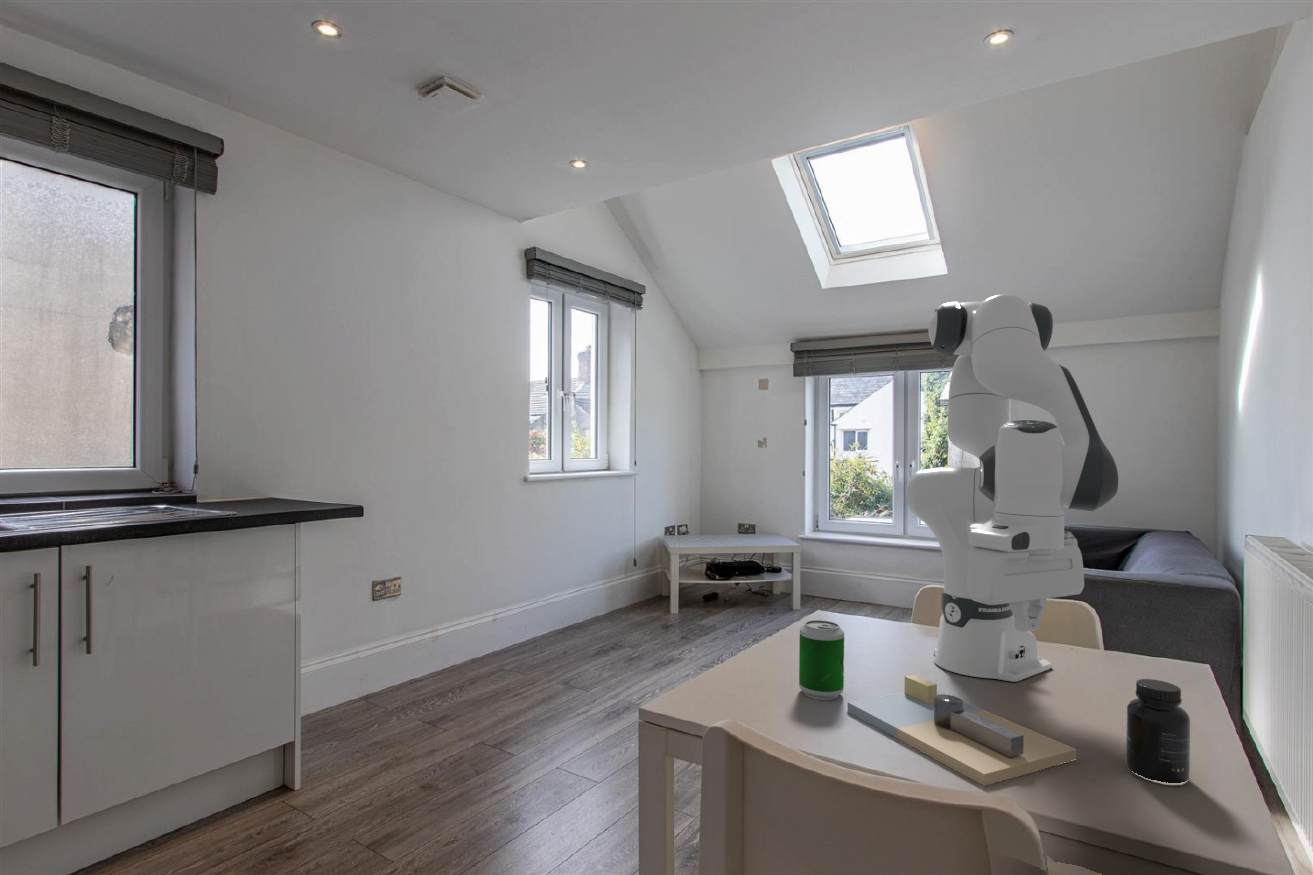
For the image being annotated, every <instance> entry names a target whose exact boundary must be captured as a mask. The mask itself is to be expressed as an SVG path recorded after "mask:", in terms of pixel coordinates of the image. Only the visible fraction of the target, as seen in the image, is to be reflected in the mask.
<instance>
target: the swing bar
mask: <svg viewBox="0 0 1313 875" xmlns="http://www.w3.org/2000/svg"><path fill="white" fill-rule="evenodd" d="M963 701H964V700H963V699H962V698H960V697H957V696H954V695H950V694H948V695H936V696H934V722H935V723H936V724H937V725H939V726H942V727H945V728H951V729H953V730H955V731H957V732H959V733H961V734H963V735H965V736H967V737H970V738H972V739H974V740H976V741H978V742H980V743H982V744H984V745H986V746H988V747H990V748H992V749H994V750H997V751H999V752H1001V753H1003V754H1005V755H1007V756H1009V757H1014V756H1017V755H1021V754H1023V745H1024V735H1022V734H1019V733H1017V732H1015V731H1012V730H1010V729H1008V728H1006V727H1003V726H1001V725H999V724H997V723H994V722H992V721H990V720H987V719H985V718H983V717H981V716H978V715H976V714H974V713H972V712H969V711H967V710H965V709H963Z"/></svg>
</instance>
